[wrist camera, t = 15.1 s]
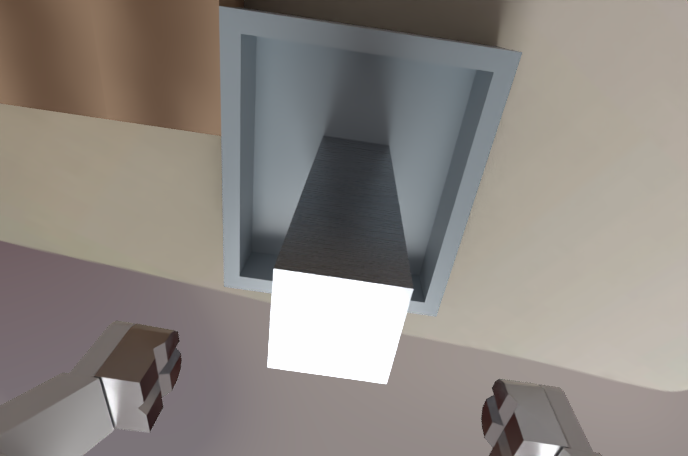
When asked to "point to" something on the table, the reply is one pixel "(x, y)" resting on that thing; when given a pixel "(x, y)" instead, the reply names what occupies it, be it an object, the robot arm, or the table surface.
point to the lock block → (115, 59)
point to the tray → (352, 131)
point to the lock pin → (342, 268)
